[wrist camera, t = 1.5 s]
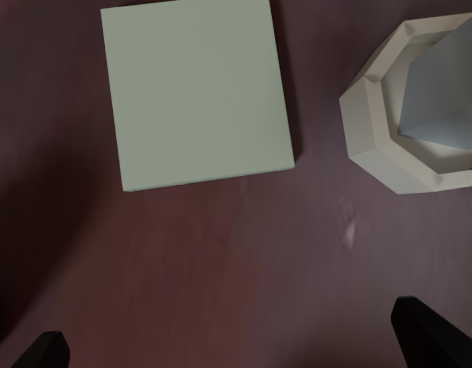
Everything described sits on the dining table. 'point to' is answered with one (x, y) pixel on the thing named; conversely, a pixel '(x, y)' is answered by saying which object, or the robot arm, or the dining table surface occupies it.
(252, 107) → the sage mat
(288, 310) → the dining table surface
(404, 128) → the grey-blue upright block
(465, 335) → the robot arm
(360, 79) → the cream bowl
